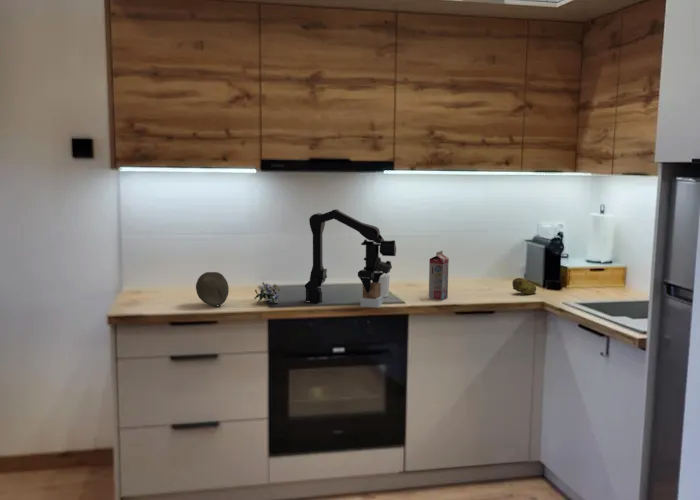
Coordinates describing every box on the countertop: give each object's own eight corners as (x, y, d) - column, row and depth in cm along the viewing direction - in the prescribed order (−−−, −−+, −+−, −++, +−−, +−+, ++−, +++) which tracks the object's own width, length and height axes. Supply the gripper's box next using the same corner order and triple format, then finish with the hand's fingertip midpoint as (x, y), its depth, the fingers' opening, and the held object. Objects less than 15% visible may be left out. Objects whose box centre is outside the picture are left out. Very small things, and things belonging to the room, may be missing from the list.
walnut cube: (362, 297, 289) (362, 284, 289) (368, 295, 295) (368, 281, 294) (375, 298, 287) (375, 285, 286) (380, 296, 292) (380, 283, 291)
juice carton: (447, 298, 307) (448, 251, 304) (441, 300, 302) (443, 252, 299) (434, 296, 311) (435, 250, 308) (428, 299, 305) (429, 251, 302)
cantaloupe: (232, 302, 294) (231, 269, 292) (225, 309, 280) (224, 275, 278) (200, 302, 295) (199, 269, 292) (192, 309, 281) (191, 274, 278)
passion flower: (275, 315, 293) (280, 297, 285) (251, 311, 291) (255, 293, 284) (277, 297, 302) (282, 279, 294) (253, 293, 300) (257, 275, 292)
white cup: (379, 298, 305) (379, 277, 304) (369, 295, 312) (369, 274, 311) (392, 296, 310) (393, 275, 308) (382, 293, 316) (383, 273, 315)
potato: (540, 295, 315) (541, 278, 314) (515, 296, 313) (515, 279, 312) (533, 292, 323) (534, 275, 322) (508, 292, 321) (509, 276, 320)
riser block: (360, 307, 289) (360, 298, 288) (364, 303, 296) (364, 294, 296) (378, 308, 287) (378, 299, 286) (382, 304, 294) (382, 295, 294)
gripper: (381, 259, 277) (381, 296, 279) (396, 253, 294) (396, 288, 296) (357, 257, 281) (357, 293, 283) (373, 252, 298) (372, 286, 300)
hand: (371, 290), depth 291 cm, fingers open, 9 cm apart
